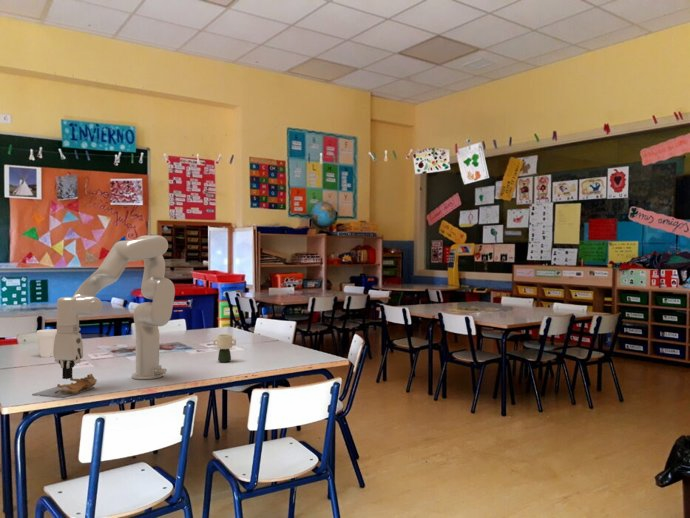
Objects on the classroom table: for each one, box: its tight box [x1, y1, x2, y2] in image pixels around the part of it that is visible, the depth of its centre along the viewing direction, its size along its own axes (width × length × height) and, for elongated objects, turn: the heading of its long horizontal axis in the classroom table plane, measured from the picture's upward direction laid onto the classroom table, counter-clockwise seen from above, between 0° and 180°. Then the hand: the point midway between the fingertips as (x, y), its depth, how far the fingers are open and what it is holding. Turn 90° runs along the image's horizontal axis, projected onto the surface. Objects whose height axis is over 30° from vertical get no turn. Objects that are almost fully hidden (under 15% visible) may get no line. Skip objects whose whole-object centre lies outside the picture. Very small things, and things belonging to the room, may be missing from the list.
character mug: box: [212, 333, 237, 363], centre depth 273 cm, size 11×7×13 cm, turn 93°
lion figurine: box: [55, 373, 97, 394], centre depth 212 cm, size 15×5×9 cm
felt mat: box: [31, 384, 95, 399], centre depth 214 cm, size 14×16×1 cm
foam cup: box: [36, 328, 57, 358], centre depth 285 cm, size 10×9×13 cm
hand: (67, 378), depth 213 cm, fingers closed
